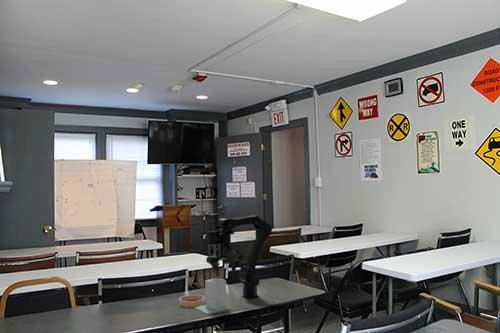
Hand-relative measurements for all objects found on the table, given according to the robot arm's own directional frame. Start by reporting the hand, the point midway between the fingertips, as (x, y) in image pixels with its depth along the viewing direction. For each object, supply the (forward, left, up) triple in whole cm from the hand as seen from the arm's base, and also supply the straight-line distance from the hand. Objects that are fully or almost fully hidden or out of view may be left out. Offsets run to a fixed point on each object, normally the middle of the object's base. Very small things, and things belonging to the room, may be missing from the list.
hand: (225, 275), depth 202 cm
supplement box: (+9, +6, -13) cm, 17 cm away
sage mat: (+11, +5, -13) cm, 18 cm away
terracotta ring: (+14, -9, -13) cm, 21 cm away
